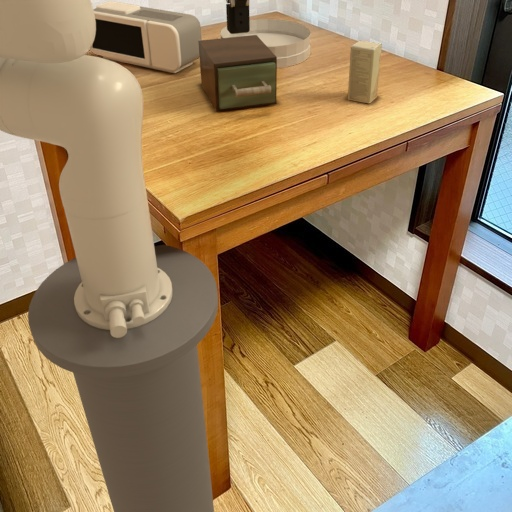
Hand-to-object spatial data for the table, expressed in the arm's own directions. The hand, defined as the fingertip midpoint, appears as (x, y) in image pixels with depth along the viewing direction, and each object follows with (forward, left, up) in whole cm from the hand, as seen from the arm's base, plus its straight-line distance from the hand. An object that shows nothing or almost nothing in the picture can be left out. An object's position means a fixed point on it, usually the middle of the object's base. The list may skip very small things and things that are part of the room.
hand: (238, 31), depth 92 cm
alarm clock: (+52, +10, -21) cm, 57 cm away
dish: (+49, -19, -21) cm, 57 cm away
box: (+16, -30, -21) cm, 40 cm away
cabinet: (+26, -6, -21) cm, 34 cm away
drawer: (+22, -6, -20) cm, 31 cm away
